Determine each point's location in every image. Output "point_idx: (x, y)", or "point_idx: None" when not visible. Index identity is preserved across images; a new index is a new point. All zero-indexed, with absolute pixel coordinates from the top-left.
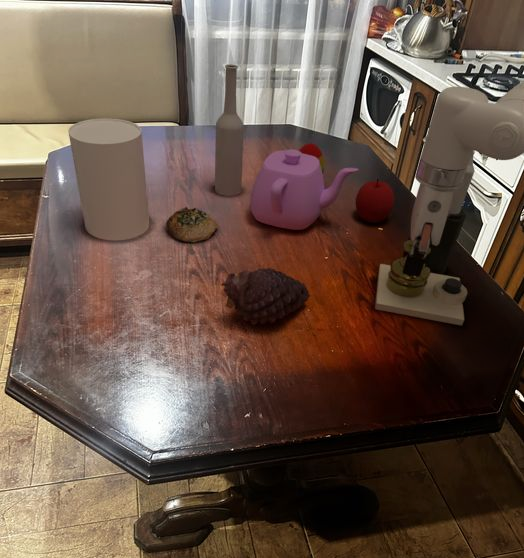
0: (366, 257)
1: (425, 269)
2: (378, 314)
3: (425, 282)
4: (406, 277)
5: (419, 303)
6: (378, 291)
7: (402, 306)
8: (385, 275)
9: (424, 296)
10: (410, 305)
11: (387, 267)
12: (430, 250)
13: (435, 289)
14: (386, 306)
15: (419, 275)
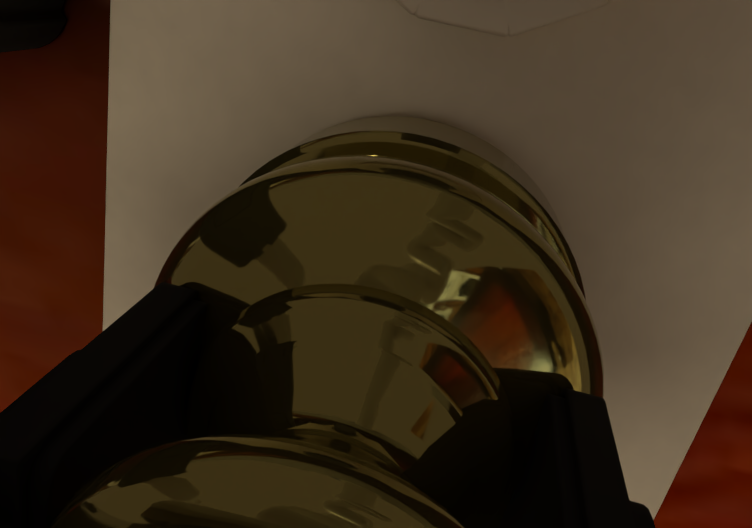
0: (6, 406)
1: (449, 289)
2: (696, 493)
3: (466, 173)
4: None
5: (660, 214)
6: None
7: (700, 374)
8: None
9: (541, 136)
10: (690, 305)
11: None
12: (374, 511)
13: (513, 35)
14: (669, 473)
15: (598, 400)
